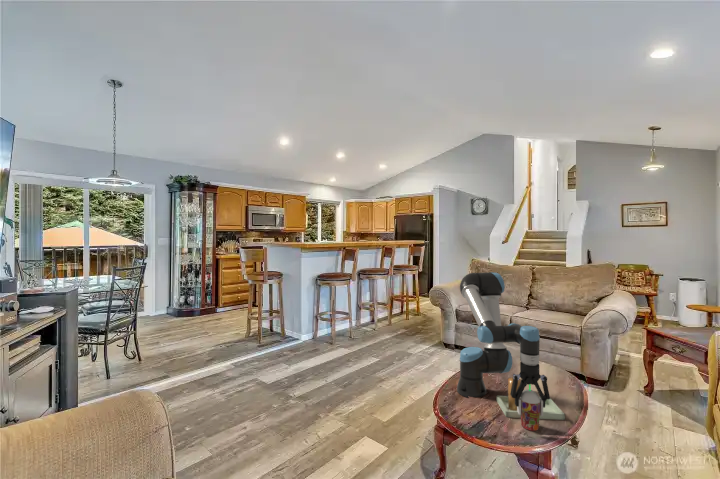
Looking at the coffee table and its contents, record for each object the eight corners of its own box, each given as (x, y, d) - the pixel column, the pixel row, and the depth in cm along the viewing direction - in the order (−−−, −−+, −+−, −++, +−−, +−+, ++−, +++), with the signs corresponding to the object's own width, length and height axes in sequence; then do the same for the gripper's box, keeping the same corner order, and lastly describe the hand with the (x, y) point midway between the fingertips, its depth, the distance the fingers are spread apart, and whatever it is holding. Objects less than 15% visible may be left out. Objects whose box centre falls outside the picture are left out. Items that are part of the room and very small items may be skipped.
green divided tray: (506, 419, 156) (506, 411, 156) (496, 402, 171) (496, 395, 171) (564, 421, 153) (564, 414, 153) (549, 404, 169) (549, 397, 168)
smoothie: (531, 436, 142) (531, 389, 142) (515, 426, 150) (515, 382, 150) (545, 431, 146) (545, 386, 145) (528, 422, 153) (528, 378, 153)
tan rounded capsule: (510, 412, 160) (510, 383, 160) (506, 405, 167) (506, 377, 166) (524, 412, 159) (524, 383, 159) (520, 405, 166) (519, 377, 166)
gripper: (507, 365, 145) (507, 417, 145) (559, 366, 142) (559, 419, 143) (501, 358, 152) (502, 408, 153) (551, 360, 150) (551, 410, 150)
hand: (529, 413), depth 148 cm, fingers closed on smoothie, 8 cm apart
